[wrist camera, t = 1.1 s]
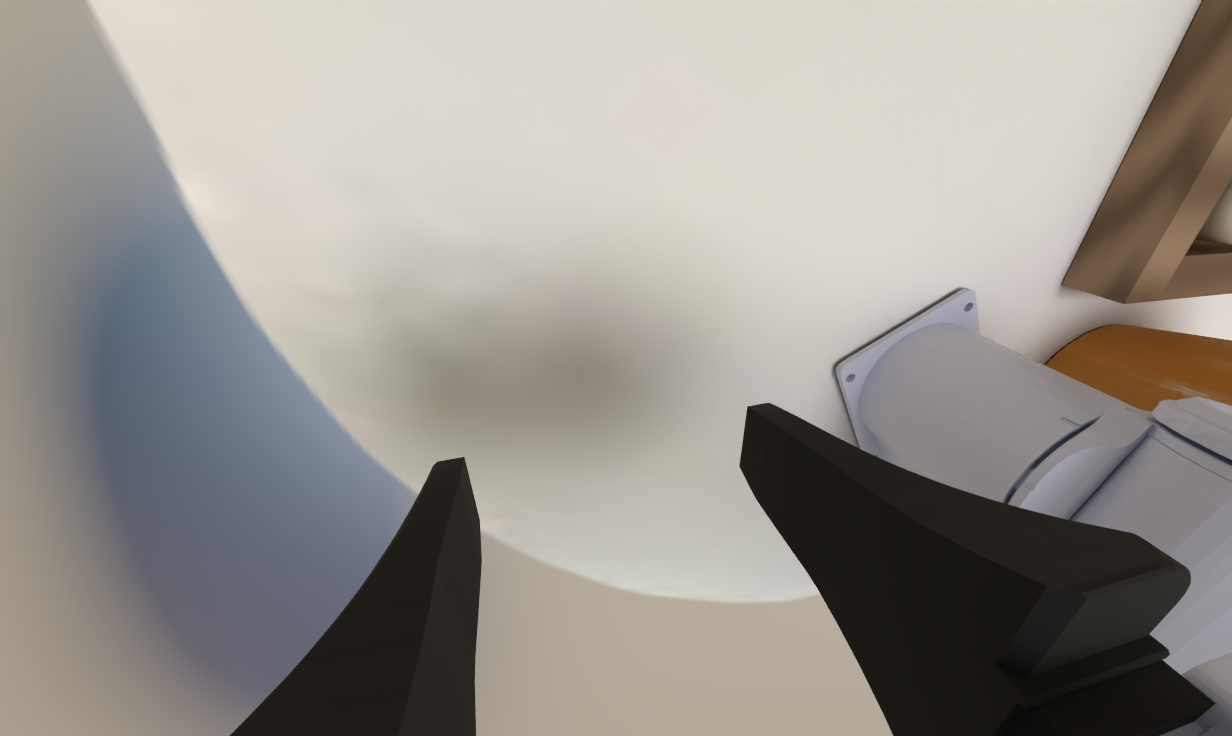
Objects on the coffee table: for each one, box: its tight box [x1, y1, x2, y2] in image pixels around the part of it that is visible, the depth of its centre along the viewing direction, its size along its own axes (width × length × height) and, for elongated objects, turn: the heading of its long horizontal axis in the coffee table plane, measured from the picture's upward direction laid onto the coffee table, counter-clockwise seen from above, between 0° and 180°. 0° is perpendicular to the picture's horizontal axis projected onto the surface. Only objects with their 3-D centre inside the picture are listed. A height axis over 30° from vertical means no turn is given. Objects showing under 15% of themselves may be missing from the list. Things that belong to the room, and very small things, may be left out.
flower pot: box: [1045, 325, 1232, 412], centre depth 25 cm, size 14×14×13 cm
